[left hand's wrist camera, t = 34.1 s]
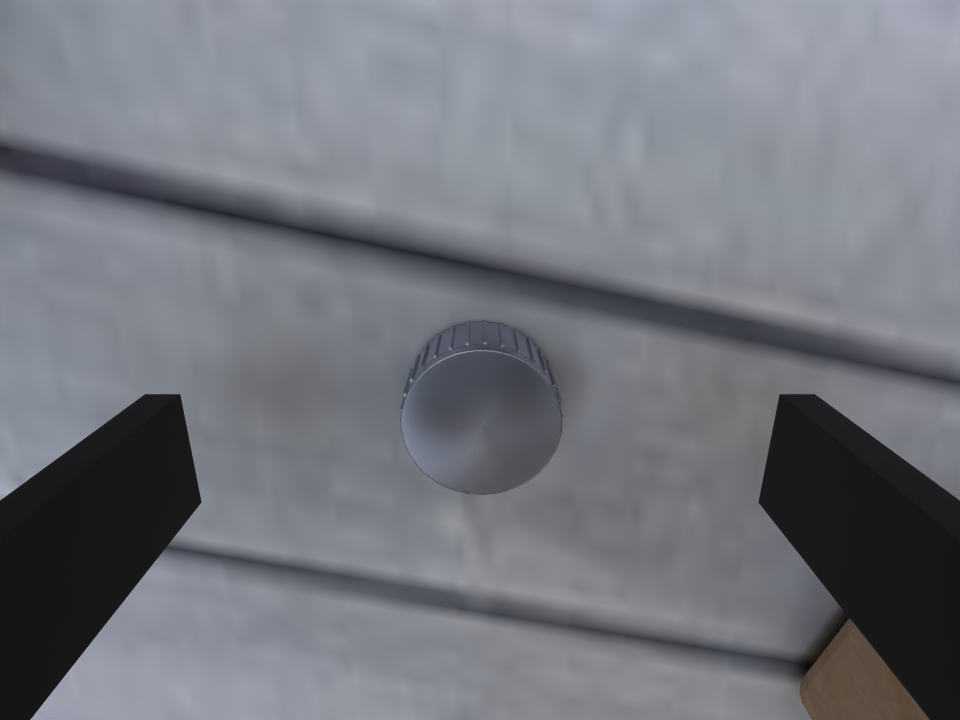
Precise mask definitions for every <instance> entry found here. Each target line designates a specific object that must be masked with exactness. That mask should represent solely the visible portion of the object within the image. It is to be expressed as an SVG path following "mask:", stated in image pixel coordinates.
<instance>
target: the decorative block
mask: <svg viewBox="0 0 960 720" xmlns="http://www.w3.org/2000/svg"><path fill="white" fill-rule="evenodd" d="M800 694H801V699H802V702H803V704H804V706H805V708H806V709H807V711H808V713H809V715H810V716H811V718H812V720H930V719H929V718H928V717H927V716H926V714H925V713H924V712H923V710H922V709H921V708H920V707H919V705H918V704H917V703H916V702H915V700H914V699H913V698H912V697H911V695H910V694H909V693H908V691H907V690H906V689H905V688H904V686H903V685H902V684H901V683H900V681H899V680H898V679H897V677H896V676H895V675H894V674H893V672H892V671H891V670H890V669H889V667H888V666H887V665H886V664H885V662H884V661H883V660H882V658H881V657H880V656H879V655H878V653H877V652H876V651H875V650H874V648H873V647H872V646H871V644H870V643H869V642H868V641H867V639H866V638H865V637H864V636H863V634H862V633H861V632H860V630H859V629H858V628H857V627H856V625H855V624H854V623H853V622H852V620H851V619H850V618H849V619H848V621H847V622H846V623H845V625H844V626H843V627H842V628H841V630H840V631H839V632H838V634H837V635H836V636H835V637H834V639H833V640H832V641H831V643H830V644H829V645H828V646H827V648H826V649H825V650H824V652H823V653H822V654H821V655H820V657H819V658H818V659H817V661H816V662H815V663H814V664H813V666H812V667H811V668H810V670H809V671H808V672H807V673H806V675H805V676H804V677H803V679H802V683H801V687H800Z"/></svg>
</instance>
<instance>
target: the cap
mask: <svg viewBox="0 0 960 720" xmlns="http://www.w3.org/2000/svg"><path fill="white" fill-rule="evenodd" d="M403 396H404V399H403V403H402V406H401V409H400V412H401V432H402V437H403V441H404V444H405V447H406V449H407V451H408V453H409V455H410V457H411V458H412V459H413V461H414V462H415V464H416V465H417V466H418V467H419V468H420V469H421V471H422V472H424V473H425V474H426V475H427V476H428V477H429V478H431V479H432V480H434V481H435V482H437V483H439V484H441V485H443V486H445V487H447V488H449V489H452V490H455V491H458V492H463V493H468V494H481V495H486V494H495V493H500V492H505V491H508V490H511V489H514V488H516V487H518V486H520V485H522V484H524V483H526V482H527V481H529V480H530V479H532V478H533V477H534V476H536V475H537V474H538V473H539V472H540V471H541V470H542V469H543V468H544V467H545V466H546V465H547V463H548V462H549V461H550V459H551V458H552V456H553V454H554V452H555V451H556V449H557V446H558V443H559V440H560V436H561V431H562V412H561V407H560V403H561V398H560V395H559V392H558V389H557V386H556V383H555V380H554V376H553V374H552V371H551V367H550V364H549V362H548V360H547V361H546V360H545V358H544V357H543V354H542V350H541V348H540V347H539V348H537V347H536V345H535V344H534V343H533V342H532V341H531V338H530V337H526V336H524V335H523V334H521V333H520V332H518V330H517V329H516V328H515V329H512V328H510V327H507V326H504V325H503V324H502V323H499V324H497V323H490V322H486V321H483V322H473V323H470V321H469V322H467V323H466V324H462V325H458V326H456V327H454V326H451V328H450V329H448V330H447V331H445V332H443V333H441V334H440V333H438V334H437V337H436V338H434V339H433V340H432V341H431V342H430V343H429V344H428V343H426V344H425V348H424V350H423V351H422V352H421V354H420V356H419V355H417V357H416V360H415V363H414V367H413V369H412V368H411V371H410V374H409V378H408V381H407V384H406V387H405V390H404V394H403Z"/></svg>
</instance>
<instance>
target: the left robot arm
mask: <svg viewBox="0 0 960 720" xmlns="http://www.w3.org/2000/svg"><path fill="white" fill-rule="evenodd" d="M200 504H201V498H200V493H199V487H198V482H197V477H196V472H195V467H194V462H193V457H192V452H191V447H190V442H189V436H188V431H187V426H186V421H185V416H184V411H183V406H182V401H181V396H180V394H145V395H144V396H142V397H141V398H139V399H138V400H137V401H135V402H134V403H133V404H131V405H130V406H129V407H127V408H126V409H124V410H123V411H122V412H120V413H119V414H118V415H116V416H115V417H114V418H112V419H111V420H110V421H108V422H107V423H105V424H104V425H103V426H101V427H100V428H99V429H97V430H96V431H95V432H93V433H92V434H90V435H89V436H88V437H86V438H85V439H84V440H82V441H81V442H80V443H78V444H77V445H75V446H74V447H73V448H71V449H70V450H69V451H67V452H66V453H65V454H63V455H62V456H60V457H59V458H58V459H56V460H55V461H54V462H52V463H51V464H50V465H48V466H47V467H45V468H44V469H43V470H41V471H40V472H39V473H37V474H36V475H35V476H33V477H32V478H30V479H29V480H28V481H26V482H25V483H24V484H22V485H21V486H20V487H18V488H17V489H15V490H14V491H13V492H11V493H10V494H9V495H7V496H6V497H5V498H3V499H2V500H0V720H30V719H31V718H32V717H33V716H34V714H35V713H36V712H37V710H38V709H39V708H40V707H41V705H42V704H43V703H44V702H45V700H46V699H47V698H48V697H49V695H50V694H51V693H52V691H53V690H54V689H55V688H56V686H57V685H58V684H59V683H60V681H61V680H62V679H63V677H64V676H65V675H66V674H67V672H68V671H69V670H70V669H71V667H72V666H73V665H74V663H75V662H76V661H77V660H78V658H79V657H80V656H81V655H82V653H83V652H84V651H85V650H86V648H87V647H88V646H89V644H90V643H91V642H92V641H93V639H94V638H95V637H96V636H97V634H98V633H99V632H100V630H101V629H102V628H103V627H104V625H105V624H106V623H107V622H108V620H109V619H110V618H111V617H112V615H113V614H114V613H115V611H116V610H117V609H118V608H119V606H120V605H121V604H122V603H123V601H124V600H125V599H126V597H127V596H128V595H129V594H130V592H131V591H132V590H133V589H134V587H135V586H136V585H137V584H138V582H139V581H140V580H141V578H142V577H143V576H144V575H145V573H146V572H147V571H148V570H149V568H150V567H151V566H152V564H153V563H154V562H155V561H156V559H157V558H158V557H159V556H160V554H161V553H162V552H163V550H164V549H165V548H166V547H167V545H168V544H169V543H170V542H171V540H172V539H173V538H174V537H175V535H176V534H177V533H178V531H179V530H180V529H181V528H182V526H183V525H184V524H185V523H186V521H187V520H188V519H189V517H190V516H191V515H192V514H193V512H194V511H195V510H196V509H197V507H198V506H199V505H200ZM759 504H760V505H761V506H762V507H763V509H764V510H765V511H766V512H767V514H768V515H769V516H770V517H771V519H772V520H773V521H774V523H775V524H776V525H777V526H778V528H779V529H780V530H781V531H782V533H783V534H784V535H785V537H786V538H787V539H788V540H789V542H790V543H791V544H792V545H793V547H794V548H795V549H796V551H797V552H798V553H799V554H800V556H801V557H802V558H803V559H804V561H805V562H806V563H807V564H808V566H809V567H810V568H811V570H812V571H813V572H814V573H815V575H816V576H817V577H818V578H819V580H820V581H821V582H822V584H823V585H824V586H825V587H826V589H827V590H828V591H829V592H830V594H831V595H832V596H833V597H834V599H835V600H836V601H837V603H838V604H839V605H840V606H841V608H842V609H843V610H844V611H845V613H846V614H847V615H848V617H849V618H850V619H851V620H852V622H853V623H854V624H855V625H856V627H857V628H858V629H859V630H860V632H861V633H862V634H863V636H864V637H865V638H866V639H867V641H868V642H869V643H870V644H871V646H872V647H873V648H874V650H875V651H876V652H877V653H878V655H879V656H880V657H881V658H882V660H883V661H884V662H885V664H886V665H887V666H888V667H889V669H890V670H891V671H892V672H893V674H894V675H895V676H896V677H897V679H898V680H899V681H900V683H901V684H902V685H903V686H904V688H905V689H906V690H907V691H908V693H909V694H910V695H911V697H912V698H913V699H914V700H915V702H916V703H917V704H918V705H919V707H920V708H921V709H922V710H923V712H924V713H925V714H926V716H927V717H928V718H929V719H930V720H960V500H958V499H957V498H955V497H954V496H953V495H951V494H950V493H949V492H947V491H946V490H945V489H943V488H942V487H940V486H939V485H938V484H936V483H935V482H934V481H932V480H931V479H930V478H928V477H927V476H925V475H924V474H923V473H921V472H920V471H919V470H917V469H916V468H915V467H913V466H912V465H910V464H909V463H908V462H906V461H905V460H904V459H902V458H901V457H900V456H898V455H897V454H895V453H894V452H893V451H891V450H890V449H889V448H887V447H886V446H885V445H883V444H882V443H880V442H879V441H878V440H876V439H875V438H874V437H872V436H871V435H870V434H868V433H867V432H865V431H864V430H863V429H861V428H860V427H859V426H857V425H856V424H855V423H853V422H852V421H850V420H849V419H848V418H846V417H845V416H844V415H842V414H841V413H840V412H838V411H837V410H836V409H834V408H833V407H831V406H830V405H829V404H827V403H826V402H825V401H823V400H822V399H821V398H819V397H818V396H816V395H815V394H780V396H779V401H778V406H777V411H776V416H775V421H774V426H773V431H772V436H771V442H770V447H769V452H768V457H767V462H766V467H765V472H764V477H763V482H762V487H761V493H760V498H759Z"/></svg>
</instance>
